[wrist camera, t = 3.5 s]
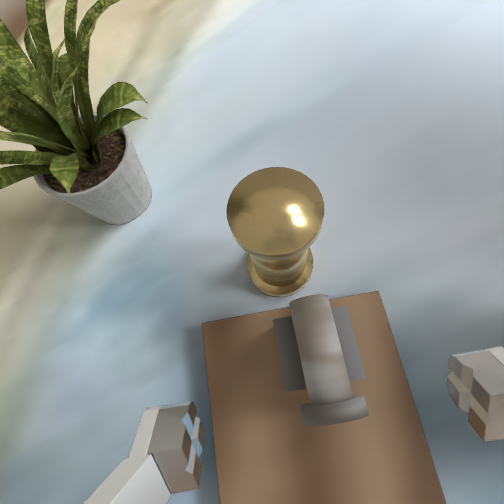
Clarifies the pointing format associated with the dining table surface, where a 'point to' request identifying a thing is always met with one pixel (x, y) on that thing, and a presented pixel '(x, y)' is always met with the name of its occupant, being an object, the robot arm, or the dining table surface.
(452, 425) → the dining table surface
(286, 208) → the brass door knob
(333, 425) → the shaft rig
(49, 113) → the house plant
